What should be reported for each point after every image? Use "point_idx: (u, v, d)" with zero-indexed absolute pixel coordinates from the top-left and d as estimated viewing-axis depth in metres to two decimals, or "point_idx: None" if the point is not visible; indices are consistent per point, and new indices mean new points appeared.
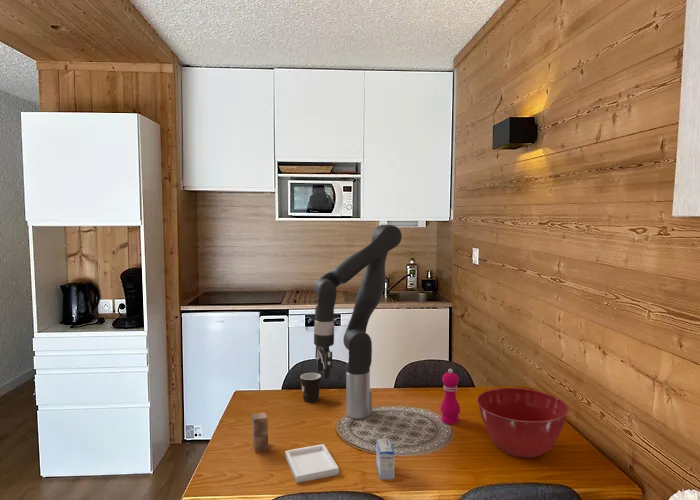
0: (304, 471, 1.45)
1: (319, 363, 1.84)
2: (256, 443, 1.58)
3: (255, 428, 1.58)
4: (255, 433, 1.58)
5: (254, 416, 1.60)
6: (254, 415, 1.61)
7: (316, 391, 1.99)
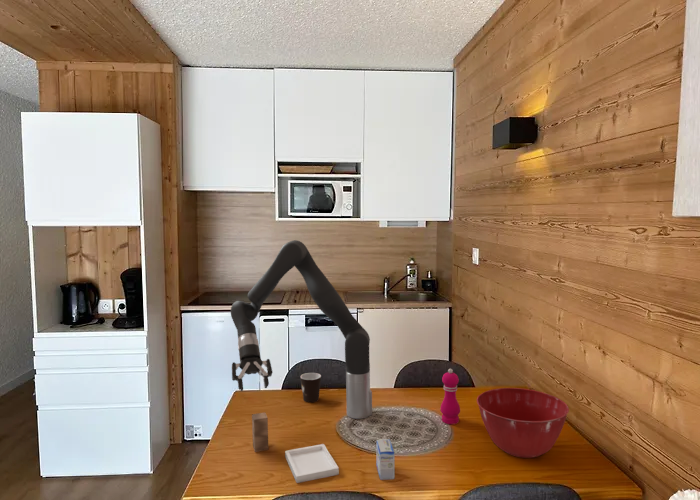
0: (304, 471, 1.45)
1: (263, 379, 1.74)
2: (256, 443, 1.59)
3: (255, 428, 1.58)
4: (255, 433, 1.58)
5: (254, 416, 1.60)
6: (254, 415, 1.61)
7: (316, 391, 1.99)
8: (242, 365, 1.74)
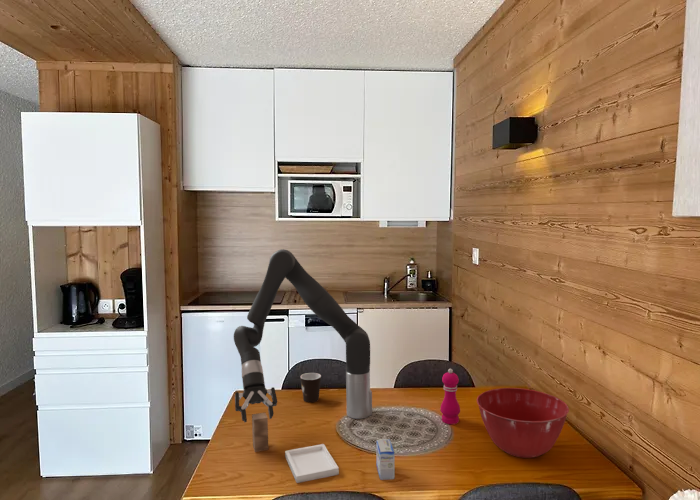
0: (304, 471, 1.45)
1: (268, 409, 1.66)
2: (256, 443, 1.58)
3: (255, 428, 1.58)
4: (255, 433, 1.58)
5: (254, 416, 1.60)
6: (254, 415, 1.61)
7: (316, 391, 1.99)
8: (245, 395, 1.67)
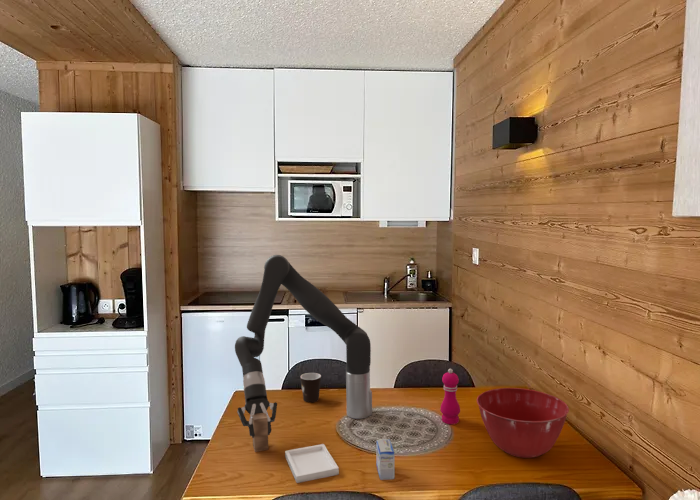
0: (304, 471, 1.45)
1: None
2: (256, 442, 1.59)
3: (255, 428, 1.58)
4: (255, 433, 1.58)
5: (254, 416, 1.60)
6: (254, 415, 1.61)
7: (316, 391, 1.99)
8: (248, 407, 1.63)
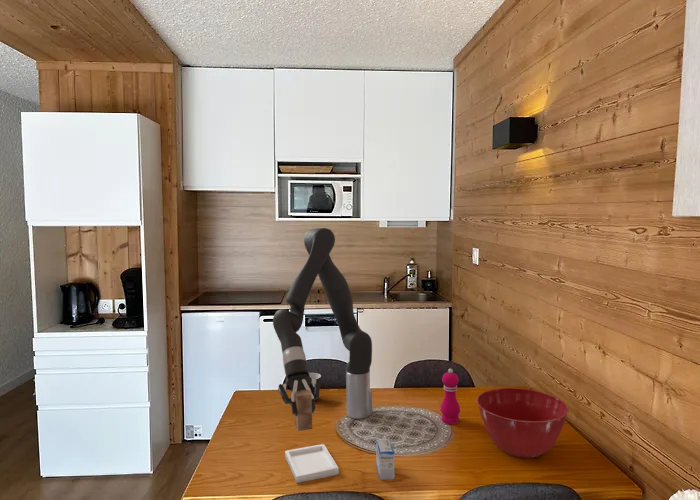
0: (304, 471, 1.45)
1: None
2: (300, 421, 1.47)
3: (298, 405, 1.47)
4: (298, 411, 1.47)
5: (297, 393, 1.49)
6: (297, 392, 1.50)
7: None
8: (290, 384, 1.52)
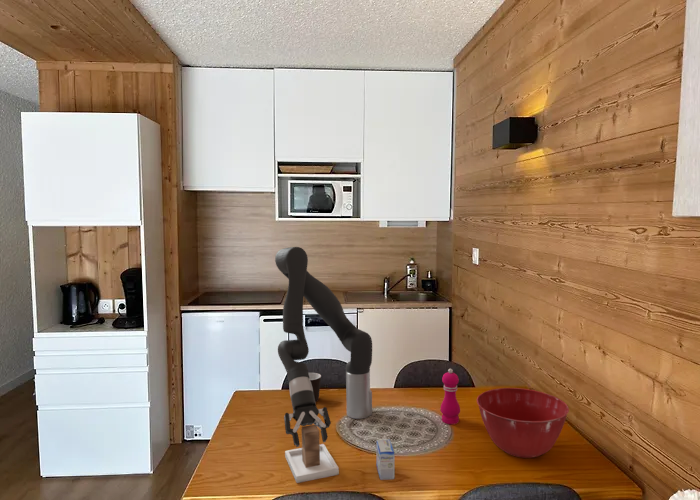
0: (304, 471, 1.45)
1: (321, 432, 1.51)
2: (307, 458, 1.47)
3: (306, 442, 1.46)
4: (306, 447, 1.46)
5: (304, 429, 1.48)
6: (304, 428, 1.49)
7: (316, 391, 1.99)
8: (296, 415, 1.51)
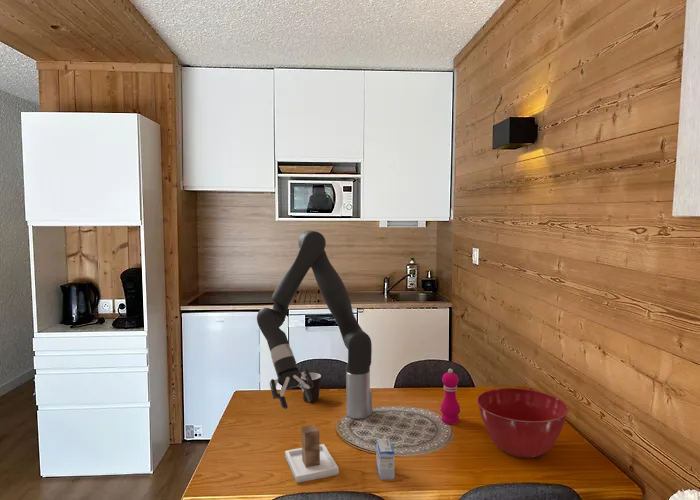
0: (304, 471, 1.45)
1: (305, 393, 1.64)
2: (307, 458, 1.47)
3: (306, 442, 1.46)
4: (306, 447, 1.46)
5: (304, 429, 1.48)
6: (304, 428, 1.49)
7: (316, 391, 1.99)
8: (281, 381, 1.62)
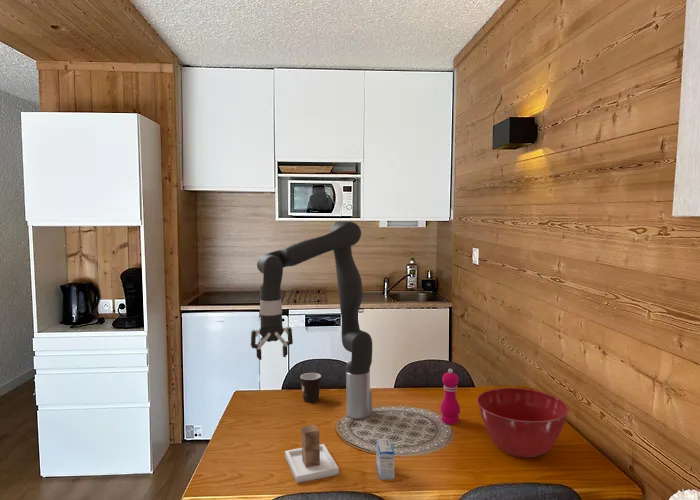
0: (304, 471, 1.45)
1: None
2: (307, 458, 1.47)
3: (306, 442, 1.46)
4: (306, 447, 1.46)
5: (304, 429, 1.48)
6: (304, 428, 1.49)
7: (316, 391, 1.99)
8: (262, 334, 1.65)
